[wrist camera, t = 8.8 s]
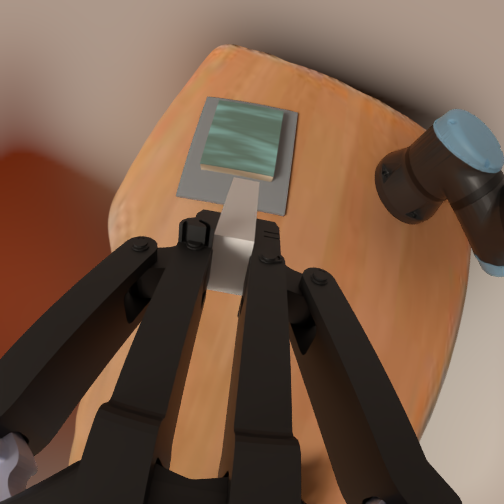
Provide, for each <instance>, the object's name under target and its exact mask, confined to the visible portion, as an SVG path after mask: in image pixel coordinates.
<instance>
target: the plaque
mask: <svg viewBox="0 0 504 504" xmlns="http://www.w3.org/2000/svg"><path fill="white" fill-rule="evenodd" d="M283 112H284V111H279V110H274V109H270V108H265V107H259V106H254V105H248V104H242V103H236V102H229V101H222V100H219V102H218V105H217V108H216V111H215V115H214V118H213V121H212V124H211V127H210V131H209V134H208V137H207V140H206V144H205V147H204V151H203V154H202V158H201V161H200V166H201V169H202V170H208V171H214V172H220V173H226V174H232V175H237V176H243V177H248V178H253V179H259V180H264V181H269V182H271V181H272V179H273V176H274V170H275V164H276V157H277V151H278V145H279V138H280V132H281V125H282V119H283Z"/></svg>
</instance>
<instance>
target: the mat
mask: <svg viewBox="0 0 504 504" xmlns="http://www.w3.org/2000/svg"><path fill="white" fill-rule="evenodd" d="M219 100H222V101H229V102H236V103H242V104H248V105H254V106H259V107H265V108H270V109H274V110H279V111H284V112H283V119H282V125H281V132H280V138H279V145H278V151H277V157H276V164H275V170H274V176H273V179H272V181H271V182H269V181H264V180H259V179H253V178H248V177H243V176H237V175H232V174H226V173H220V172H214V171H208V170H202V169H201V166H200V161H201V158H202V154H203V151H204V147H205V144H206V140H207V137H208V134H209V131H210V127H211V124H212V121H213V118H214V115H215V111H216V108H217V105H218V102H219ZM297 115H298V113H297V112H293V111H289V110H284V109H280V108H275V107H270V106H265V105H260V104H254V103H249V102H243V101H236V100H230V99H223V98H215V97H207V99H206V102H205V105H204V107H203V110H202V113H201V116H200V119H199V122H198V125H197V128H196V131H195V134H194V137H193V140H192V143H191V146H190V149H189V152H188V156H187V159H186V162H185V166H184V169H183V172H182V176H181V179H180V183H179V186H178V190H177V193H176V197H181V198H188V199H194V200H199V201H205V202H211V203H217V204H222V205H224V204H225V201H226V198H227V195H228V192H229V189H230V186H231V184H232V181H233V178H234V177H235V178H241V179H246V180H251V181H257V182H260V183H259V194H258V205H257V211H260V212H265V213H270V214H275V215H280V216H284V215H285V209H286V201H287V194H288V187H289V179H290V172H291V164H292V156H293V148H294V140H295V132H296V123H297Z"/></svg>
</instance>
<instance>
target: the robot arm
mask: <svg viewBox="0 0 504 504" xmlns="http://www.w3.org/2000/svg"><path fill="white" fill-rule="evenodd" d="M503 164H504V157H503V152H502V151H501V149H500V145H499V143H498V141H497V139H496V138H495V136H494V135H493V133H492V132H491V131H490V129H489V128H488V127H487V126H486V125H485V124H484V123H483V122H482V121H481V120H480V119H479V118H477V117H476V116H475V115H472V114H471V113H469V112H467V111H465V110H461V109H453V110H450V111H448V112H447V113H446V114H445V115H444V116H442V117H441V118H438V119H437V120H436V121H435V122H434V124H433V125H432V126H431V127H430V128H429V129H428V130H427V131H426V132H425V133H424V134H423V135H421V136H420V137H419V138H418V139H417V140H416V141H415V142H414V143H413V144H412V145H411V146H409V147H407V148H404V149H401V150H397V151H394V152H391V153H389V154H388V155H386V156H385V157H384V158H383V159H382V160H381V161H380V162H379V164H378V166H377V168H376V171H375V184H376V189H377V192H378V195H379V197H380V199H381V201H382V203H383V204H384V206H385V207H386V208H387V210H388V211H389V212H390V213H391V214H392V215H393V216H394V217H396V218H397V219H399V220H400V221H402V222H405V223H408V224H419V223H422V222H424V221H426V220H428V219H429V218H430V217H432V216H433V215H434V213H435V212H436V211H437V209H438V208H439V207H440V205H441V204H442V203H443V201H444V200H446V199H448V201H449V203H450V205H451V206H452V208H453V210H454V212H455V214H456V216H457V218H458V220H459V222H460V224H461V226H462V228H463V230H464V232H465V234H466V237H467V239H468V241H469V243H470V245H471V248H472V250H473V253H474V255H475V257H476V258H477V260H478V262H479V264H480V266H481V267H482V269H483V270H484V271H485V272H486V273H487V274H489V275H491V276H496V277H503V276H504V174H503V172H502V171H501V169H502V166H503ZM259 183H260V182H257V181H251V180H246V179H241V178H235V177H234V178H233V181H232V184H231V186H230V189H229V192H228V195H227V198H226V201H225V204H224V207H223V209H222V212H221V213H220V212H215V211H209V210H202V211H201V212H199V213H197V215H196V217H195V218H187V219H184V220H182V221H181V222H180V223H179V239H178V243H177V245H176V246H174V247H166V248H157V243H156V241H155V240H153V239H151V238H149V237H144V236H142V237H141V236H139V237H134V238H131V239H129V240H127V241H126V242H125V243H124V244H122V245H121V246H120V247H119V248H117V249H116V250H115V251H114V252H113V253H111V254H110V255H109V256H108V257H106V258H105V259H104V260H103V261H102V262H101V263H99V264H98V265H97V266H96V267H95V268H93V269H92V270H91V271H90V272H89V273H88V274H87V275H85V276H84V277H83V278H82V279H81V280H80V281H79V282H77V283H76V284H75V285H74V286H73V287H72V288H71V289H70V290H69V291H68V292H67V293H65V294H64V295H63V296H62V297H61V298H60V299H59V300H58V301H57V302H56V303H55V304H53V305H52V306H51V307H50V308H49V309H48V310H47V311H46V312H45V313H44V314H43V315H42V316H41V317H40V318H39V319H38V320H37V321H36V322H35V323H34V324H33V325H32V326H31V327H30V328H29V329H28V330H27V331H26V332H25V333H24V334H23V335H22V336H21V337H20V338H19V339H18V340H17V342H16V343H15V344H14V345H13V346H12V347H11V348H10V349H9V350H8V351H7V352H6V353H5V355H4V356H3V357H2V358H1V359H0V504H306V503H305V502H304V501H303V500H302V499H301V452H300V445H299V442H298V440H297V439H296V438H295V437H294V436H293V433H292V399H291V366H290V342H291V345H292V348H293V351H294V354H295V357H296V360H297V362H298V365H299V368H300V371H301V374H302V377H303V380H304V383H305V386H306V389H307V392H308V395H309V398H310V401H311V404H312V407H313V410H314V413H315V416H316V419H317V422H318V425H319V428H320V431H321V434H322V437H323V440H324V443H325V446H326V449H327V452H328V456H329V459H330V462H331V465H332V468H333V471H334V474H335V477H336V480H337V483H338V486H339V488H340V491H341V493H342V496H343V498H344V499H345V501H346V503H347V504H462V501H461V500H460V498H459V496H458V495H457V494H456V493H455V492H454V490H453V489H452V488H451V487H450V486H449V485H448V484H447V483H446V482H445V480H444V479H443V478H442V477H441V476H440V475H439V474H438V473H437V471H436V470H435V469H434V468H433V467H432V466H431V465H430V464H429V462H428V461H427V460H426V457H425V455H424V453H423V451H422V448H421V446H420V444H419V441H418V439H417V437H416V434H415V432H414V430H413V428H412V426H411V423H410V421H409V419H408V417H407V415H406V413H405V410H404V408H403V406H402V404H401V402H400V400H399V398H398V396H397V394H396V392H395V390H394V388H393V386H392V384H391V382H390V380H389V378H388V376H387V374H386V372H385V370H384V368H383V366H382V364H381V362H380V360H379V358H378V356H377V354H376V352H375V350H374V349H373V347H372V345H371V343H370V341H369V339H368V337H367V335H366V334H365V332H364V330H363V328H362V326H361V324H360V323H359V321H358V319H357V317H356V315H355V314H354V312H353V310H352V308H351V307H350V305H349V303H348V301H347V300H346V298H345V296H344V294H343V293H342V291H341V289H340V287H339V286H338V284H337V282H336V281H335V279H334V278H333V276H332V275H331V274H330V273H328V272H327V271H325V270H322V269H320V268H308V269H306V270H304V272H303V274H302V273H299V272H297V271H294V270H292V269H290V268H289V267H287V266H286V265H285V260H284V257H283V256H282V255H281V251H280V235H279V227H278V226H277V225H276V223H275V222H271V221H266V220H261V219H256V217H257V205H258V194H259ZM207 289H209V290H214V291H219V292H225V293H230V294H236V295H241V296H242V298H241V303H240V307H239V311H238V316H237V317H238V325H237V333H236V341H235V350H234V358H233V366H232V374H231V382H230V390H229V399H228V407H227V415H226V424H225V432H224V440H223V449H222V456H221V461H220V466H219V473H218V478H212V479H188V478H186V477H183V476H181V475H179V474H177V473H174V472H172V471H170V470H169V467H170V461H171V450H172V443H173V438H174V433H175V428H176V423H177V418H178V413H179V409H180V404H181V399H182V395H183V390H184V386H185V381H186V377H187V373H188V368H189V364H190V360H191V355H192V351H193V347H194V343H195V338H196V334H197V330H198V326H199V322H200V318H201V314H202V310H203V306H204V302H205V298H206V290H207ZM140 322H141V323H140ZM139 323H140V326H139V328H138V331H137V333H136V335H135V338H134V340H133V343H132V345H131V347H130V350H129V352H128V355H127V357H126V360H125V363H124V365H123V368H122V370H121V373H120V376H119V378H118V381H117V384H116V386H115V389H114V392H113V395H112V397H111V399H110V400H109V402H106V403H103V404H102V405H101V406H100V408H99V409H98V411H97V413H96V416H95V418H94V421H93V424H92V427H91V430H90V433H89V436H88V439H87V442H86V446H85V449H84V452H83V455H82V459H81V460H80V461H77V462H75V463H73V464H72V465H70V466H68V467H67V468H65V469H63V470H61V471H60V472H58V473H56V474H54V475H52V476H51V477H49V478H47V479H46V480H43V481H41V482H39V483H38V484H36V485H34V486H32V487H30V488H28V489H26V484H27V481H28V480H29V479H30V477H31V476H33V475H35V474H36V473H37V464H36V462H35V460H34V456H35V455H36V454H38V453H39V452H40V451H41V450H42V449H43V448H44V447H46V446H47V445H48V444H49V443H50V441H51V440H52V439H53V437H54V436H55V435H56V434H57V432H58V431H59V429H60V428H61V427H62V425H63V424H64V422H65V421H66V419H67V418H68V417H69V415H70V414H71V413H72V411H73V410H74V408H75V407H76V406H77V404H78V403H79V401H80V400H81V399H82V397H83V396H84V395H85V393H86V392H87V391H88V389H89V388H90V387H91V385H92V384H93V383H94V381H95V380H96V379H97V377H98V376H99V375H100V373H101V372H102V371H103V369H104V368H105V367H106V365H107V364H108V363H109V361H110V360H111V359H112V358H113V356H114V355H115V354H116V352H117V351H118V350H119V349H120V347H121V346H122V345H123V343H124V342H125V341H126V340H127V338H128V337H129V336H130V335H131V333H132V332H133V331H134V330H135V328H136V327H137V326H138V325H139ZM289 339H290V341H289Z"/></svg>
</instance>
